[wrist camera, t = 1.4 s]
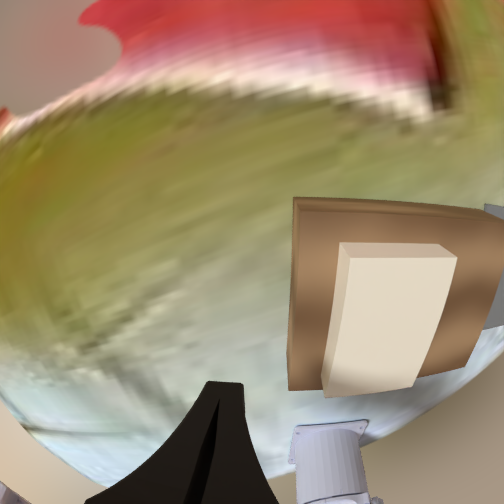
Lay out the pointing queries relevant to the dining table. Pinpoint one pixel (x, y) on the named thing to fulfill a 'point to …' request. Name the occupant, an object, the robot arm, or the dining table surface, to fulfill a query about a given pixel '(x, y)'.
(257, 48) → the dining table surface
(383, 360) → the cream rectangular block
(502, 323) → the mat
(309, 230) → the plate
